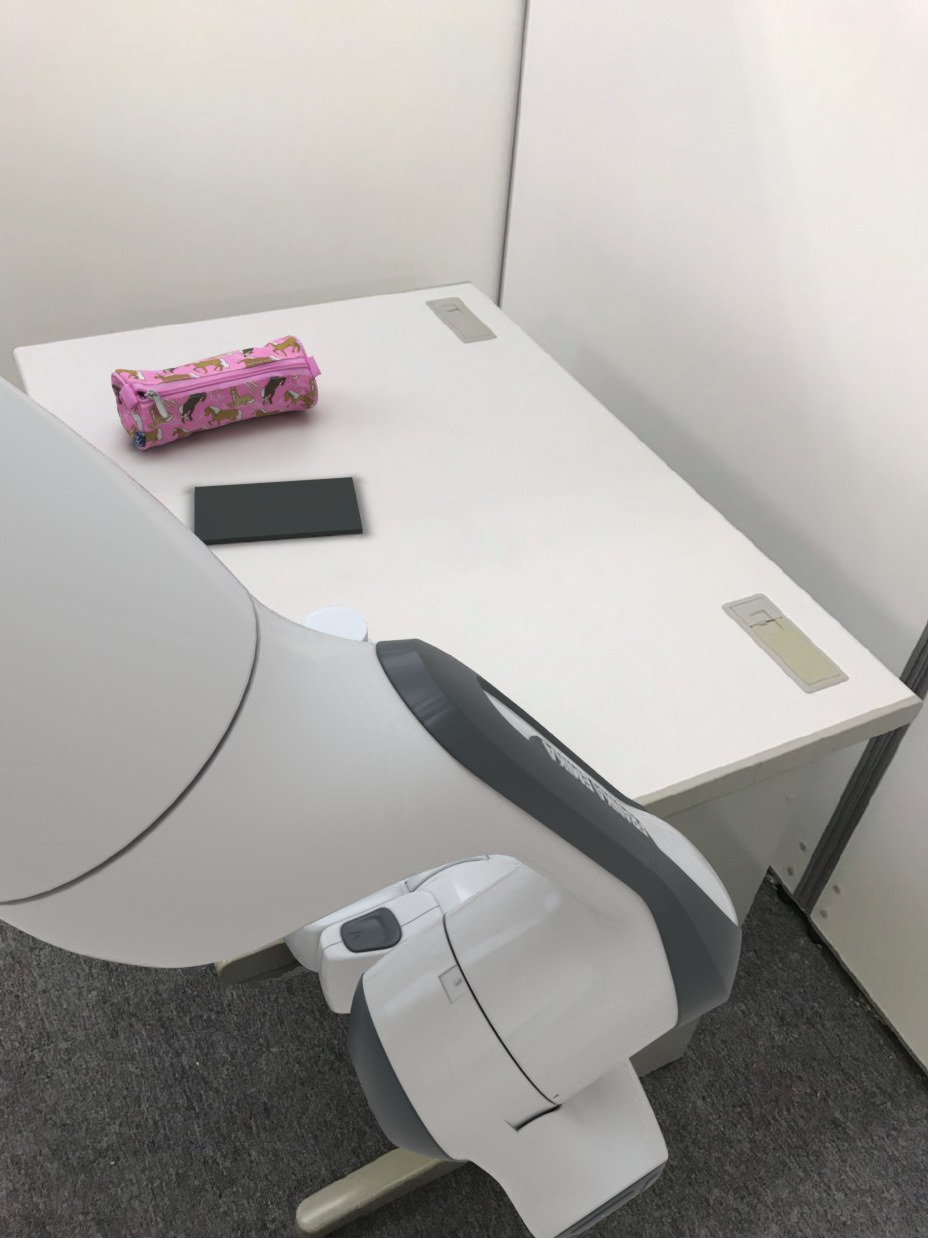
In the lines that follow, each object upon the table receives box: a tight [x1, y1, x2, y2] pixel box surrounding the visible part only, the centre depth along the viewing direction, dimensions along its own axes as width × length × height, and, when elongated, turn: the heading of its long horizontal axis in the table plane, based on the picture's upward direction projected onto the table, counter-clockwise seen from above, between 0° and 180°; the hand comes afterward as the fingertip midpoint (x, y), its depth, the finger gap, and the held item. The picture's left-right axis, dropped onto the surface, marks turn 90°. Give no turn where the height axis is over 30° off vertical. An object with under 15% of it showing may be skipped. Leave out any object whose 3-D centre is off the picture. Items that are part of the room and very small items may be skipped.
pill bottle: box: [301, 605, 373, 643], centre depth 72 cm, size 6×6×11 cm
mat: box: [194, 476, 364, 546], centre depth 97 cm, size 16×9×1 cm, turn 101°
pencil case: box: [110, 334, 322, 451], centre depth 105 cm, size 21×9×9 cm, turn 121°
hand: (380, 759), depth 65 cm, fingers open, 8 cm apart
